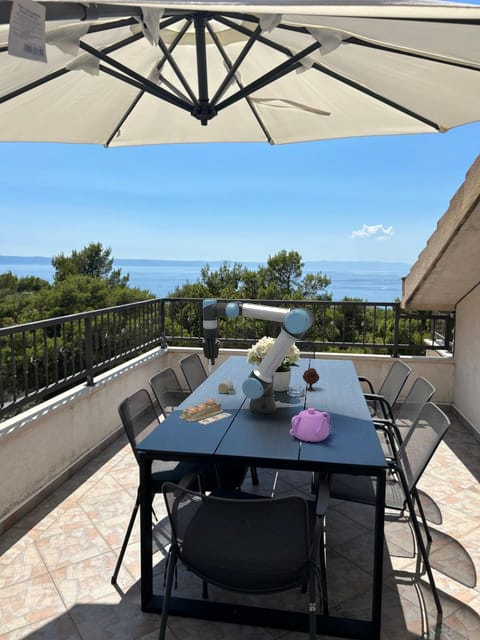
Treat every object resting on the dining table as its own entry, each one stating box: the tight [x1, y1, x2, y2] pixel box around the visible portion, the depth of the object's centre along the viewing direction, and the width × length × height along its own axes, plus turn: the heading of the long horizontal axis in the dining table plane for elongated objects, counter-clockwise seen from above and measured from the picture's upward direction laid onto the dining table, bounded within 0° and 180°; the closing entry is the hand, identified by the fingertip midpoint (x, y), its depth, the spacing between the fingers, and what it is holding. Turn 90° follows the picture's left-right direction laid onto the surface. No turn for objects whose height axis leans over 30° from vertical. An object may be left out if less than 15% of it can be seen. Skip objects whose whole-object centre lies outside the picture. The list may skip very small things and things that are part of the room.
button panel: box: [178, 401, 224, 423], centre depth 246 cm, size 10×23×4 cm, turn 140°
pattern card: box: [197, 412, 232, 426], centre depth 240 cm, size 5×20×1 cm, turn 140°
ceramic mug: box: [217, 379, 237, 395], centre depth 290 cm, size 11×8×8 cm
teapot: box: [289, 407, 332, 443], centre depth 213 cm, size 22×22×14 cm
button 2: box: [206, 397, 216, 406], centre depth 251 cm, size 5×5×4 cm
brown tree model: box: [302, 367, 320, 392], centre depth 299 cm, size 11×11×15 cm
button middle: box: [196, 403, 206, 409], centre depth 246 cm, size 5×5×4 cm
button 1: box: [187, 406, 197, 412], centre depth 241 cm, size 5×5×4 cm
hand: (211, 370), depth 251 cm, fingers closed
